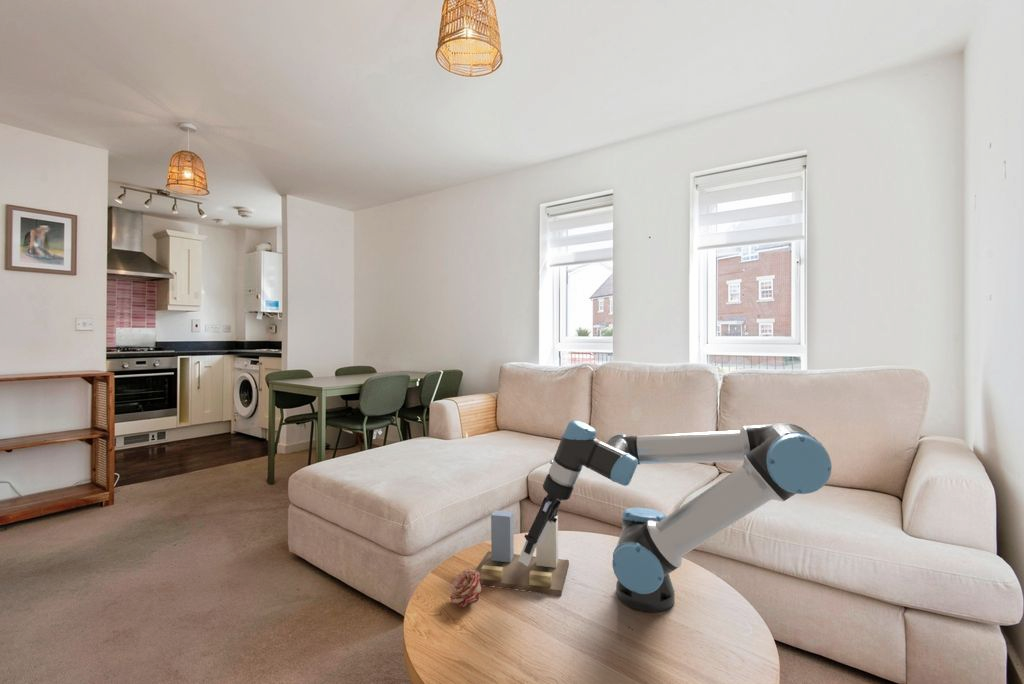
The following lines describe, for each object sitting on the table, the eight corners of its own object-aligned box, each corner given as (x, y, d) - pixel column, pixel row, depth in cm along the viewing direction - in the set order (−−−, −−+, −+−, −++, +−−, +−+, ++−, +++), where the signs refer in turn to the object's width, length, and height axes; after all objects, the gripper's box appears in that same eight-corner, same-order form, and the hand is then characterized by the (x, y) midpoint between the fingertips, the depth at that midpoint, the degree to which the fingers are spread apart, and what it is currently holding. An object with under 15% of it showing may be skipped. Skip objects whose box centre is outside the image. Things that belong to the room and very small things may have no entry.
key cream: (558, 560, 139) (557, 515, 139) (556, 567, 135) (555, 520, 135) (538, 558, 141) (538, 513, 140) (536, 565, 137) (535, 519, 136)
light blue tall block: (513, 556, 143) (513, 511, 142) (510, 562, 139) (510, 516, 138) (495, 553, 144) (494, 509, 144) (491, 560, 140) (491, 515, 140)
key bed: (568, 565, 140) (568, 550, 140) (561, 595, 124) (561, 579, 124) (487, 555, 147) (487, 542, 146) (470, 584, 130) (470, 568, 130)
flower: (478, 581, 128) (462, 562, 126) (498, 587, 121) (481, 567, 119) (457, 613, 123) (439, 593, 121) (476, 622, 116) (458, 601, 114)
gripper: (560, 461, 130) (533, 527, 133) (533, 485, 107) (501, 564, 109) (584, 473, 128) (557, 540, 130) (562, 501, 104) (529, 582, 107)
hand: (531, 551), depth 120 cm, fingers open, 13 cm apart
